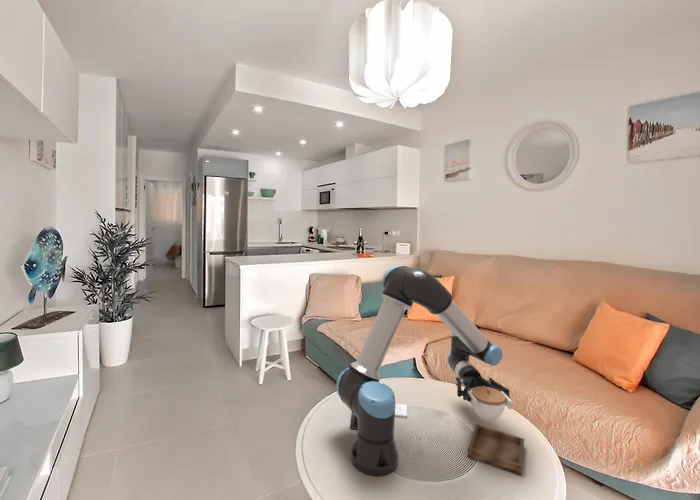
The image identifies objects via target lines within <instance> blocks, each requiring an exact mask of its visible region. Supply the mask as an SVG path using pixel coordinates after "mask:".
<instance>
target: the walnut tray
mask: <svg viewBox="0 0 700 500" xmlns="http://www.w3.org/2000/svg"><path fill="white" fill-rule="evenodd" d="M524 443H525V438H523V437H521V436H516V435H513V434H510V433H506V432H503V431H501V430H497V429H492V428H490V427H487V426H483V425H480V424H477V423H476V424H475V426H474V430H473V432H472V436H471V439H470V441H469V444H468V448H467V458H469V459H472V460H473V461H474V460H475V461H477V462H480V463H482V464H486V465H488V466H492V467H495V468H497V469H499V470H503V471H505V472H508V473H511V474H514V475H517V476H520V477H522V473H523V460H524V458H523V457H524V447H525V445H524Z"/></svg>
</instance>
